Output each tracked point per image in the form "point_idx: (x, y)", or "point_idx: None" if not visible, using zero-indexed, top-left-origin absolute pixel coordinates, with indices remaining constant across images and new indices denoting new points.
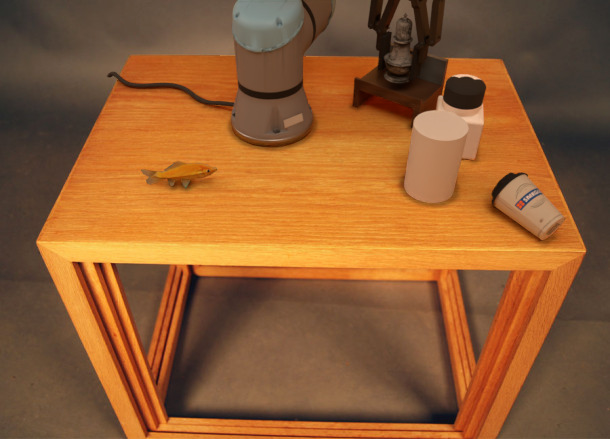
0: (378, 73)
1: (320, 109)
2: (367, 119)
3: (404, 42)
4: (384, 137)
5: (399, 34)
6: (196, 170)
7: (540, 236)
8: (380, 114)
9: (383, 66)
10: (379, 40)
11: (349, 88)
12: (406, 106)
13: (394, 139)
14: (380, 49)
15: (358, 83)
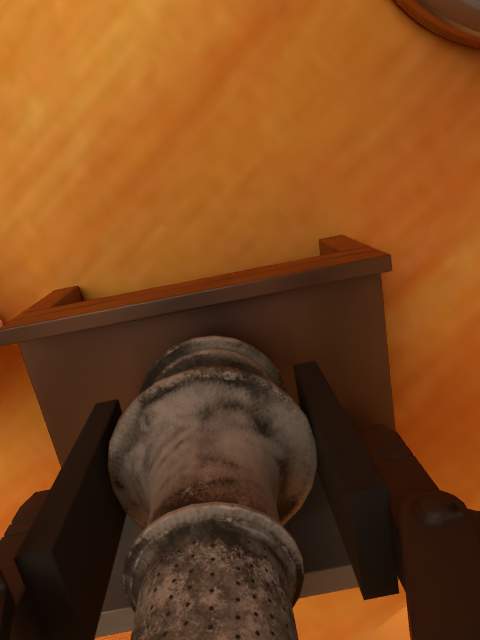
0: (348, 404)
1: (430, 115)
2: (235, 206)
3: (148, 541)
4: (97, 153)
5: (199, 578)
6: None
7: None
8: (223, 273)
9: (298, 392)
10: (394, 472)
11: (435, 327)
12: (85, 301)
13: (60, 173)
14: (343, 423)
15: (355, 256)
